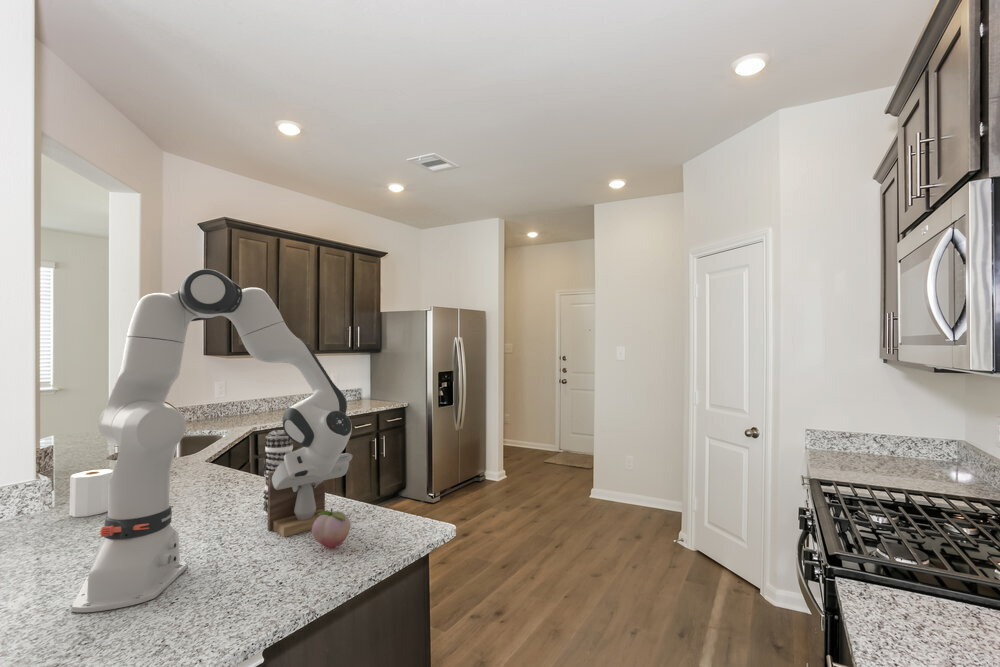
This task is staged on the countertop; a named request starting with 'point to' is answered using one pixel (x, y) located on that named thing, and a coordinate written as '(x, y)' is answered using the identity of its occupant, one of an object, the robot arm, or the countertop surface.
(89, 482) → the toilet paper
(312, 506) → the salt shaker
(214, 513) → the countertop surface
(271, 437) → the decorative candle
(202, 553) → the countertop surface
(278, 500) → the cleat board
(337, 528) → the decorative fruit
